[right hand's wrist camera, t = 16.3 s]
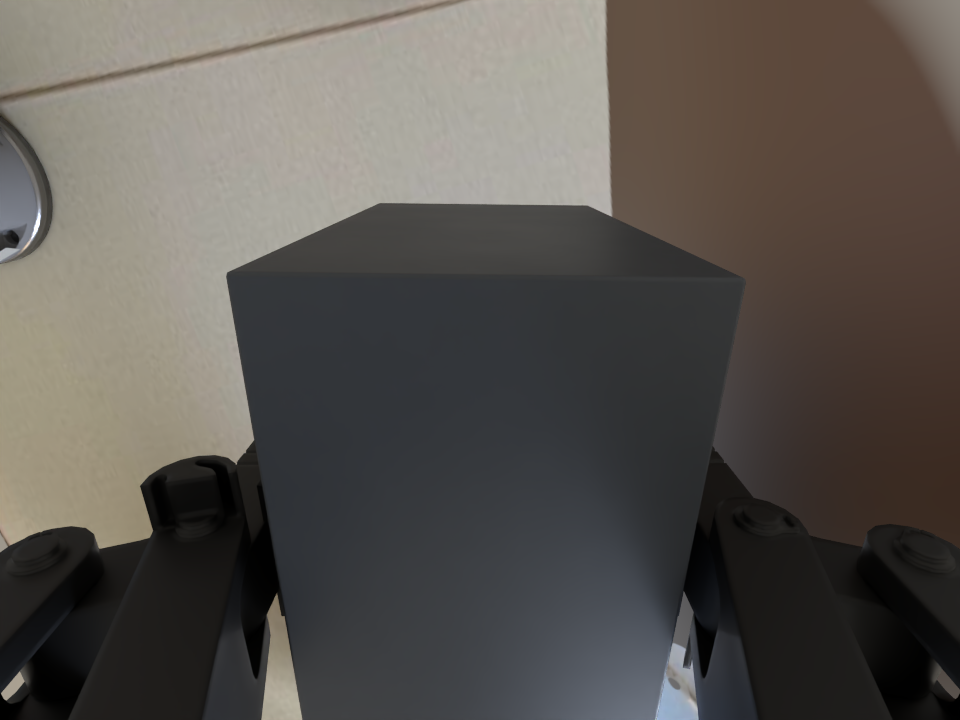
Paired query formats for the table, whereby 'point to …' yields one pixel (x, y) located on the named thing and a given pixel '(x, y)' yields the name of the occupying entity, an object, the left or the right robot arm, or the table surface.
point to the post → (482, 455)
